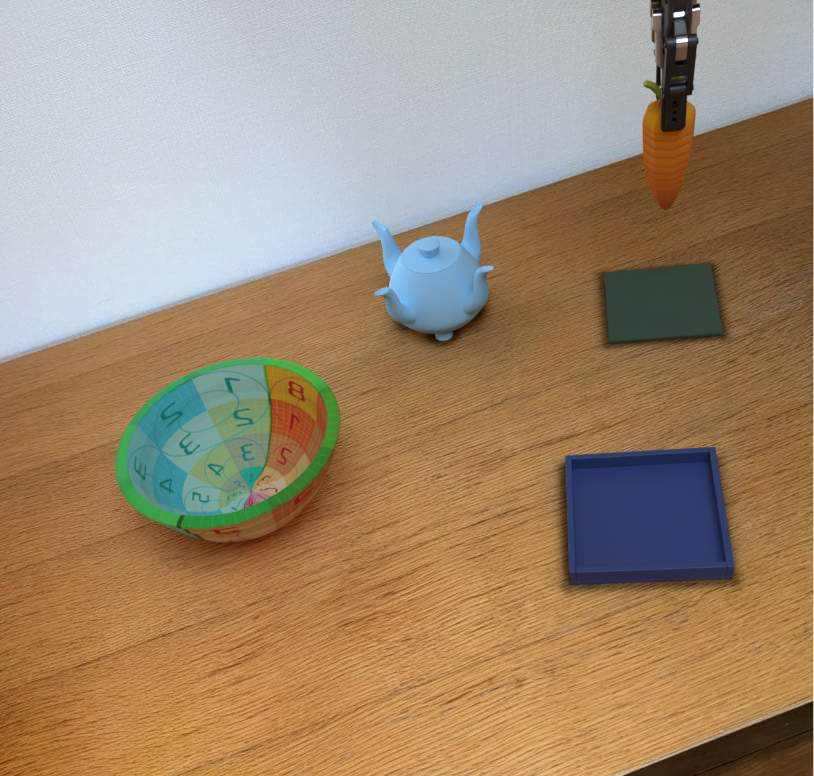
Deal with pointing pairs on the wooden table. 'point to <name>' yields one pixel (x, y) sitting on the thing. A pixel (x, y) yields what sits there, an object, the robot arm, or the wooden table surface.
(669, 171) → the carrot
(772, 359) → the wooden table surface
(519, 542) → the wooden table surface
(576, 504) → the tray
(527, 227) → the wooden table surface
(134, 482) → the bowl
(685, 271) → the mat
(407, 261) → the teapot
